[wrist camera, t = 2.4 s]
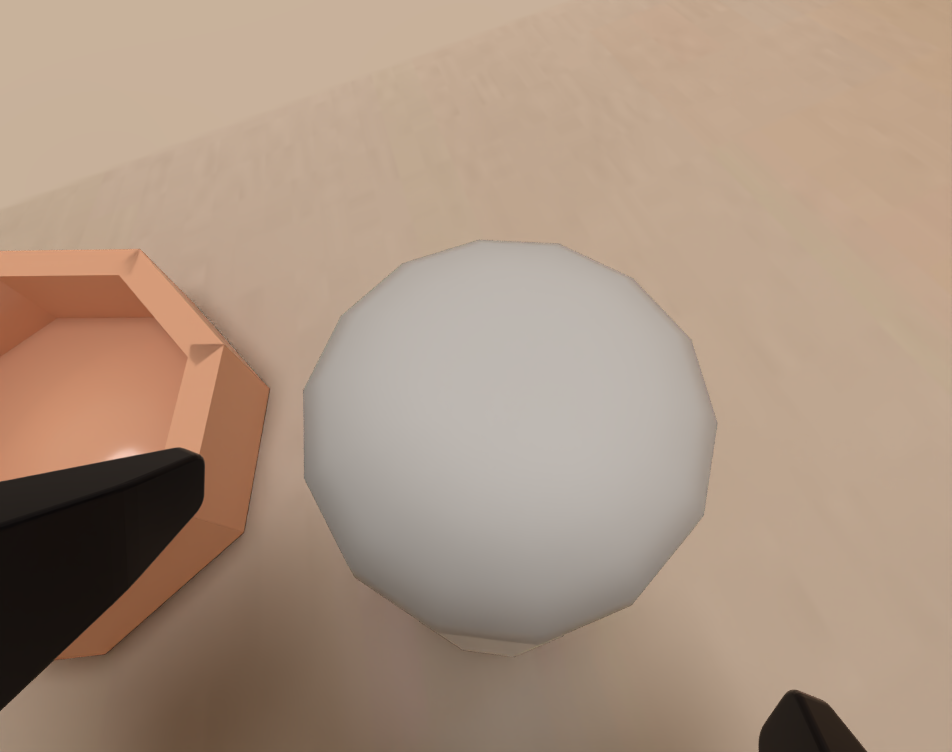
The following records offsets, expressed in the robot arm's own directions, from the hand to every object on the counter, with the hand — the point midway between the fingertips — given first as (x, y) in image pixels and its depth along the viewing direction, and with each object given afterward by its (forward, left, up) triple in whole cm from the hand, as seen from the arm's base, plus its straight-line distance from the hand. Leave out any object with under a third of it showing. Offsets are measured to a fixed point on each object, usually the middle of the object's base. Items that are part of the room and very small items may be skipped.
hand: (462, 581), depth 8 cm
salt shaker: (+1, +1, -9) cm, 9 cm away
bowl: (-7, +13, -9) cm, 17 cm away
